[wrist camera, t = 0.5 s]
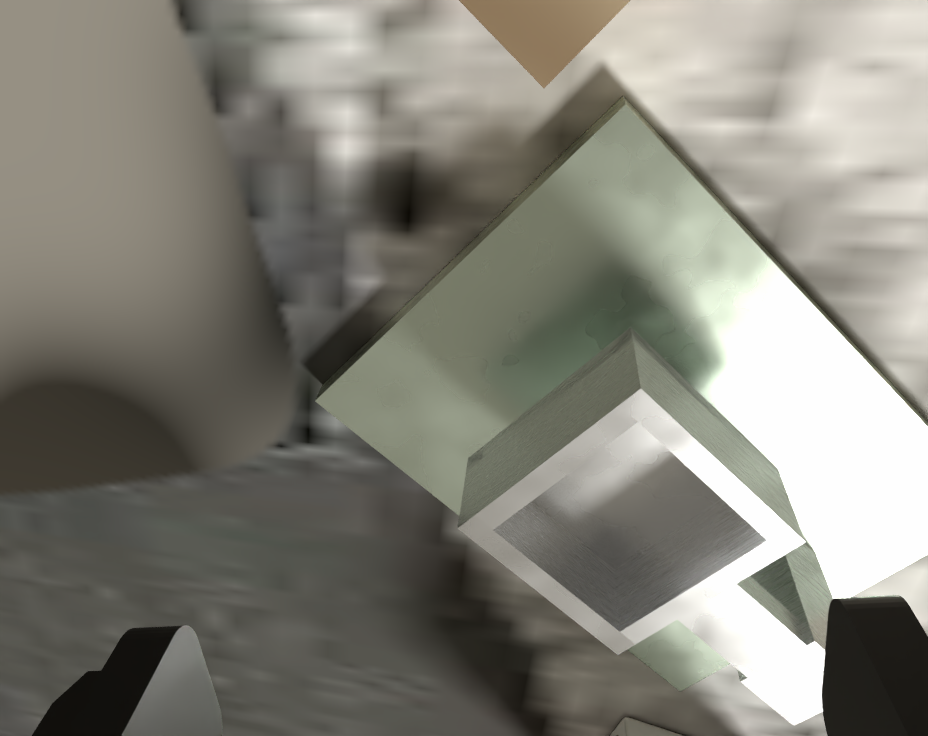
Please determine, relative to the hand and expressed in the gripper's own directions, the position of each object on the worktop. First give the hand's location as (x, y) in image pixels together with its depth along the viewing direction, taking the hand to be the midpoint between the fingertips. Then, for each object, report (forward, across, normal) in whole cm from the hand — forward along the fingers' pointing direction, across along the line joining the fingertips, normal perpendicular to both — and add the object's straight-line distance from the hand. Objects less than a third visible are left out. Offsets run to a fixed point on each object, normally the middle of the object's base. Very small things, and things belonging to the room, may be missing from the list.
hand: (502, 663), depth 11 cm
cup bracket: (+22, -5, +10) cm, 25 cm away
